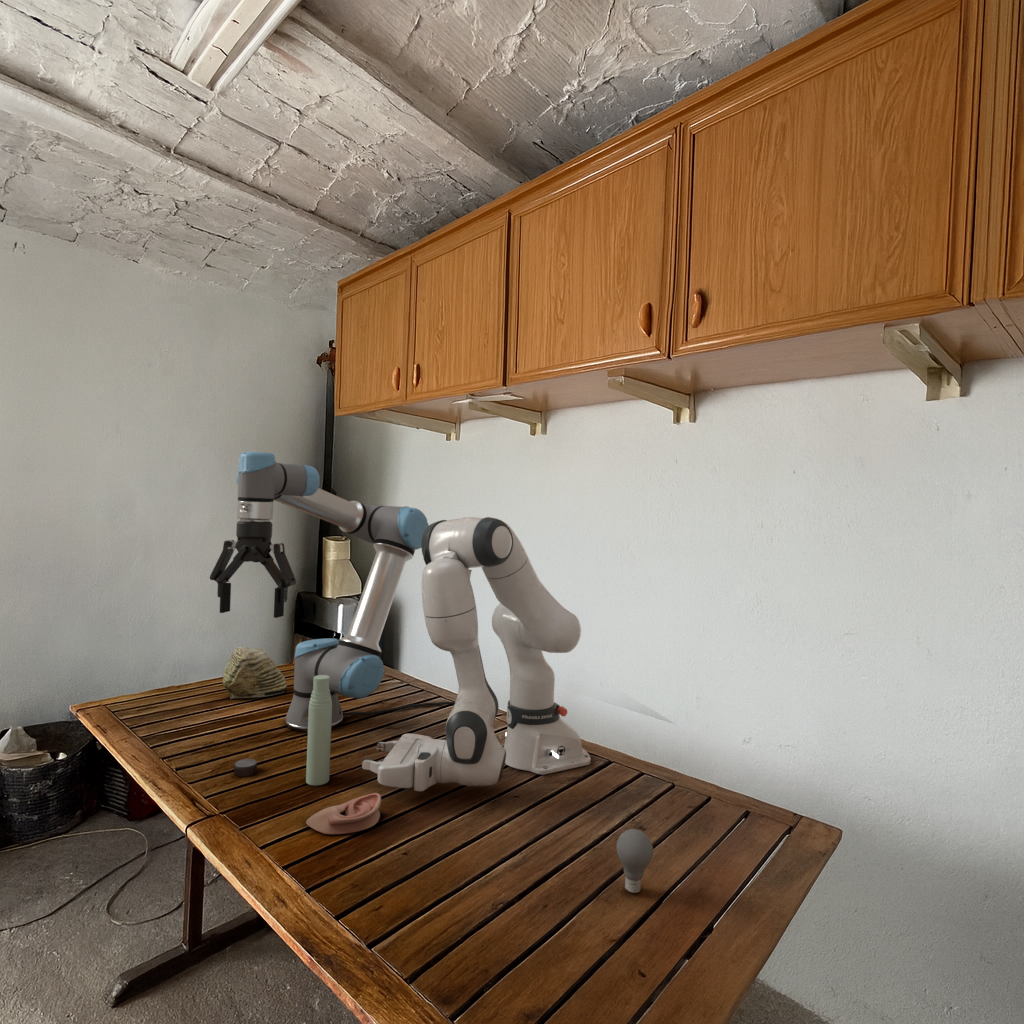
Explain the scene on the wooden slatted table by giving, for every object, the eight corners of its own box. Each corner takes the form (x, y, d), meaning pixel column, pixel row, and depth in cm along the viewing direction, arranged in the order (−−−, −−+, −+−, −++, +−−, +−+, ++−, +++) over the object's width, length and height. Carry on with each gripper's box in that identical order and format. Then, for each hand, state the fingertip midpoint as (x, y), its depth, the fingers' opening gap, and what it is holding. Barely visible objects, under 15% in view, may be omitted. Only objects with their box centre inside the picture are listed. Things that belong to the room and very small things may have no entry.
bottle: (334, 779, 142) (338, 676, 142) (317, 787, 138) (322, 681, 137) (317, 773, 145) (321, 672, 144) (301, 782, 140) (304, 677, 140)
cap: (243, 766, 147) (243, 757, 147) (260, 769, 145) (261, 760, 145) (229, 775, 142) (230, 765, 142) (248, 778, 141) (248, 768, 141)
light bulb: (610, 879, 108) (613, 822, 108) (644, 879, 109) (647, 822, 109) (619, 902, 102) (622, 840, 102) (655, 901, 103) (658, 840, 103)
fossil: (218, 695, 195) (220, 647, 195) (278, 685, 208) (279, 640, 207) (228, 703, 189) (230, 653, 188) (289, 692, 201) (290, 645, 201)
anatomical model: (298, 809, 120) (327, 783, 131) (297, 830, 120) (327, 802, 131) (363, 819, 117) (388, 791, 128) (362, 840, 117) (387, 811, 128)
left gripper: (194, 518, 142) (191, 612, 142) (296, 523, 137) (292, 621, 137) (216, 517, 149) (213, 607, 149) (314, 522, 144) (310, 615, 144)
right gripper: (442, 729, 149) (385, 724, 150) (420, 764, 129) (355, 759, 130) (441, 755, 149) (384, 750, 150) (419, 795, 129) (353, 789, 130)
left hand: (251, 614), depth 143 cm, fingers open, 13 cm apart
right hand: (370, 754), depth 140 cm, fingers open, 8 cm apart
